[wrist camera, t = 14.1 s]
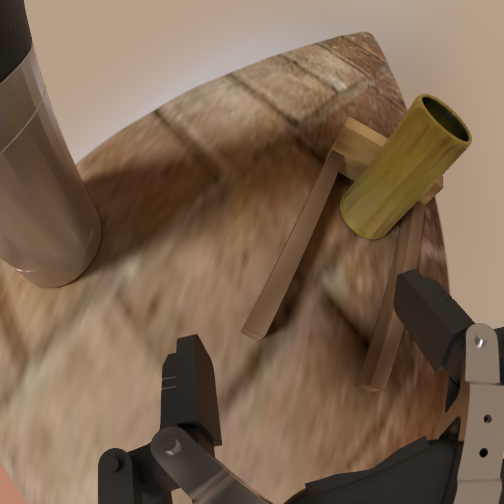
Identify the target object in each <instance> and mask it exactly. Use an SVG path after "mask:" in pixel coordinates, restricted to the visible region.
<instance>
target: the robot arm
mask: <svg viewBox="0 0 504 504" xmlns="http://www.w3.org/2000/svg"><path fill="white" fill-rule="evenodd" d="M100 239H101V222H100V218H99V215H98V213H97V211H96V209H95V207H94V205H93V203H92V201H91V199H90V197H89V195H88V192H87V190H86V188H85V186H84V183H83V181H82V179H81V177H80V175H79V173H78V170H77V168H76V166H75V164H74V161H73V159H72V157H71V154H70V152H69V149H68V147H67V145H66V142H65V140H64V137H63V135H62V132H61V130H60V127H59V124H58V122H57V119H56V116H55V114H54V111H53V108H52V105H51V102H50V99H49V96H48V93H47V90H46V87H45V84H44V82H43V78H42V75H41V71H40V68H39V64H38V61H37V57H36V53H35V49H34V45H33V43H32V37H31V33H30V29H29V25H28V20H27V16H26V11H25V6H24V0H0V258H1V259H3V260H4V261H5V262H6V263H8V264H9V265H10V266H11V267H12V268H14V269H15V270H16V271H17V272H19V273H20V274H21V275H23V276H24V277H25V278H27V279H28V280H29V281H31V282H32V283H34V284H36V285H38V286H40V287H45V288H57V287H60V286H63V285H66V284H68V283H70V282H71V281H73V280H75V279H76V278H77V277H79V276H80V275H81V274H82V273H83V272H84V271H85V270H86V269H87V267H88V266H89V265H90V264H91V262H92V260H93V258H94V257H95V255H96V253H97V250H98V247H99V245H100ZM393 305H394V310H395V313H396V315H397V316H398V318H399V319H400V321H401V322H402V323H403V325H404V326H405V328H406V329H407V331H408V332H409V333H410V335H411V336H412V338H413V339H414V341H415V342H416V343H417V345H418V346H419V348H420V349H421V351H422V352H423V354H424V355H425V357H426V358H427V360H428V361H429V363H430V364H431V366H432V367H433V369H434V370H435V372H436V373H437V372H439V371H441V370H443V369H444V368H445V369H446V371H447V375H446V381H445V390H444V398H443V405H442V411H441V416H440V420H439V422H438V424H437V427H436V430H435V433H434V437H433V440H428V441H427V439H426V437H425V436H423V437H422V438H420V439H418V440H416V441H414V442H412V443H410V444H408V445H406V446H404V447H402V448H400V449H398V450H397V451H396V452H394V453H393V454H392V455H390V456H389V457H388V458H386V459H385V460H384V461H382V462H381V463H380V464H378V465H377V466H375V467H374V468H372V469H370V470H364V471H358V472H350V473H342V474H336V475H333V476H329V477H326V478H323V479H320V480H316V481H313V482H309V483H306V484H305V486H306V488H305V489H303V490H301V491H299V492H298V493H296V494H295V495H293V496H292V497H291V498H289V499H288V500H287V501H286V502H285V503H284V504H504V459H503V452H504V327H501V328H497V329H492V328H491V327H490V326H488V325H486V324H482V323H478V324H475V323H474V322H473V321H472V319H471V318H470V317H469V316H468V315H467V314H466V313H465V311H464V310H463V309H462V308H461V307H460V306H459V305H458V304H457V302H456V301H455V300H454V299H452V297H451V296H450V295H449V294H448V293H446V290H445V289H444V288H443V287H442V286H441V285H440V284H439V283H438V282H436V281H434V280H432V279H430V278H429V277H426V278H424V277H423V276H422V275H421V274H420V273H419V272H418V271H417V270H416V269H412V270H409V271H406V272H404V273H401V274H398V275H397V277H396V285H395V294H394V302H393ZM162 379H163V380H162V390H161V424H160V430H159V431H158V432H157V433H156V434H155V436H154V437H153V439H152V441H151V442H150V443H149V444H147V445H145V446H143V447H140V448H137V449H135V450H132V451H130V452H125V451H124V450H122V449H119V448H112V449H109V450H107V451H106V452H104V453H103V454H102V456H101V457H100V460H99V463H98V504H173V503H172V495H171V491H173V490H175V489H178V488H182V489H183V491H184V492H185V493H186V494H187V495H188V496H189V497H190V498H191V499H192V501H193V502H192V503H193V504H273V503H272V502H270V501H269V500H267V499H266V498H265V497H263V496H262V495H261V494H259V493H258V492H256V491H255V490H254V489H252V488H251V487H250V486H248V485H247V484H246V483H245V482H243V481H242V480H241V479H240V478H238V477H237V476H236V475H235V474H234V473H232V472H231V471H230V470H229V469H228V468H226V467H225V466H224V465H223V464H222V463H221V462H220V461H218V460H217V459H216V458H215V453H214V446H220V445H222V439H221V431H220V422H219V414H218V405H217V395H216V385H215V375H214V368H213V364H212V361H211V359H210V357H209V355H208V353H207V351H206V349H205V347H204V345H203V344H202V342H201V340H200V338H199V336H198V335H197V334H195V335H191V336H187V337H182V338H178V339H177V350H176V353H173V354H169V355H168V356H167V358H166V360H165V362H164V364H163V369H162Z"/></svg>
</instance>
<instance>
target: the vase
mask: <svg viewBox="0 0 504 504" xmlns="http://www.w3.org/2000/svg"><path fill="white" fill-rule="evenodd" d="M471 142H472V137H471V134H470V132H469V130H468V128H467V127H466V125H465V124H464V122H463V121H462V120H461V118H460V117H459V116H458V115H457V114H456V113H455V112H454V111H453V110H452V109H451V108H450V107H448V106H447V105H446V104H445V103H443V102H441V101H440V100H439V99H437V98H436V97H433V96H431V95H429V94H420V95H419V96H418V97H417V98H416V99H415V101H414V102H413V104H412V105H411V107H410V108H409V110H408V111H407V113H406V114H405V116H404V117H403V119H402V120H401V122H400V123H399V125H398V126H397V127H396V129H395V130H394V132H393V133H392V134H391V136H390V137H389V139H388V140H387V141H386V143H385V144H384V146H383V147H382V149H381V150H380V152H379V153H378V155H377V157H376V158H375V159H374V161H373V162H372V163H371V164H370V165H369V166H368V167H367V168H366V170H365V171H364V172H363V173H362V174H361V175H360V176H359V177H358V178H357V180H356V181H355V182H354V183H353V184H352V185H351V186H350V188H349V189H348V190H347V191H346V192H345V193H344V194H343V195H342V197H341V200H340V210H341V213H342V216H343V219H344V220H345V222H346V224H347V225H348V226H349V227H350V228H351V229H352V230H353V231H354V232H355V233H356V234H358V235H360V236H361V237H364V238H367V239H372V240H375V239H380V238H383V237H384V236H385V235H386V234H387V233H388V231H389V230H390V229H391V228H392V227H393V226H394V225H395V224H396V223H397V222H398V221H399V220H400V219H401V218H402V217H403V216H404V215H405V214H406V213H407V212H408V210H409V209H411V208H412V207H413V206H414V204H415V203H416V202H417V201H418V200H419V199H420V198H421V197H422V196H423V195H424V194H425V193H426V192H427V191H428V190H429V189H430V188H431V187H432V186H433V185H434V183H435V182H436V181H437V180H438V179H439V178H440V177H441V176H442V175H443V174H444V173H445V171H446V170H447V169H448V168H449V167H450V166H451V165H452V164H453V163H454V162H455V161H456V160H457V159H458V158H459V156H461V154H462V153H463V152H464V151H465V150H466V149H467V148H468V146H469V145H470V144H471Z"/></svg>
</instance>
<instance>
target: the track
mask: <svg viewBox="0 0 504 504" xmlns="http://www.w3.org/2000/svg"><path fill="white" fill-rule="evenodd" d="M387 140H388V139H387V138H386V137H384V136H383V135H381V134H379V133H377V132H376V131H374V130H372V129H371V128H369V127H367V126H365V125H363V124H362V123H360V122H358V121H356V120H354V119H352V118H351V117H349V116H348V118H347V120H346V122H345V124H344V126H343V128H342V130H341V132H340V133H339V135H338V137H337V139H336V141H335V143H334V145H333V147H332V149H331V150H330V152H329V154H328V156H327V158H326V161H325V163H324V165H323V167H322V169H321V171H320V173H319V175H318V178H317V180H316V182H315V184H314V186H313V188H312V190H311V192H310V194H309V196H308V199H307V201H306V203H305V205H304V207H303V209H302V211H301V213H300V215H299V217H298V219H297V221H296V223H295V225H294V227H293V229H292V232H291V234H290V236H289V238H288V240H287V242H286V244H285V246H284V248H283V250H282V252H281V254H280V256H279V258H278V260H277V262H276V264H275V266H274V268H273V270H272V272H271V274H270V276H269V278H268V280H267V282H266V284H265V286H264V288H263V290H262V292H261V293H260V295H259V297H258V299H257V301H256V303H255V305H254V307H253V309H252V311H251V313H250V315H249V317H248V319H247V321H246V323H245V325H244V326H243V328H242V330H241V333H243V334H245V335H247V336H249V337H250V338H252V339H254V340H256V341H259V340H260V339H262V338H263V337H265V335H266V333H267V331H268V329H269V327H270V325H271V323H272V320H273V318H274V316H275V314H276V312H277V310H278V308H279V306H280V304H281V302H282V300H283V297H284V295H285V293H286V291H287V289H288V287H289V285H290V282H291V280H292V278H293V276H294V274H295V272H296V269H297V267H298V265H299V263H300V260H301V258H302V256H303V254H304V252H305V249H306V247H307V245H308V242H309V240H310V238H311V236H312V233H313V231H314V229H315V226H316V224H317V222H318V219H319V217H320V215H321V212H322V210H323V208H324V205H325V203H326V201H327V198H328V196H329V193H330V191H331V188H332V186H333V184H334V181H335V179H336V176H337V174H338V172H339V173H341V174H342V175H344V176H346V177H348V178H350V179H351V180H353V181H356V180H357V178H358V177H359V176H360V175H361V174H362V173H363V172H364V171H365V170H366V168H367V167H368V166H369V165H370V164H371V163H372V162H373V161H374V159H375V158H376V157H377V155H378V153H379V152H380V150H381V149H382V147H383V146H384V144H385V143H386V141H387ZM442 188H443V176H441V177H440V178H439V179H438V180H437V181H436V182H435V183H434V185H433V186H432V187H431V188H430V189H429V190H428V191H427V192H426V193H425V194H424V195H423V196H422V197H421V198H420V199H419V200H418V201H417V202H416V203H415V204H414V206H413V207H412V208H411V209H409V210H408V212H407V213H406V214H405V215H404V216H403V217H402V218H401V223H400V228H399V234H398V239H397V244H396V249H395V253H394V258H393V262H392V267H391V271H390V275H389V279H388V283H387V287H386V291H385V295H384V298H383V302H382V306H381V309H380V313H379V316H378V319H377V323H376V326H375V329H374V332H373V336H372V339H371V342H370V345H369V348H368V351H367V354H366V356H365V359H364V362H363V365H362V368H361V370H360V373H359V376H358V378H357V381H356V383H355V386H357V387H360V388H362V389H365V390H367V391H385V389H386V386H387V383H388V380H389V377H390V374H391V371H392V368H393V365H394V362H395V358H396V355H397V352H398V348H399V345H400V341H401V337H402V334H403V330H404V325H403V323H402V322H401V321H400V319H399V318H398V316H397V315H396V313H395V310H394V305H393V302H394V294H395V285H396V277H397V275H398V274H401V273H404V272H406V271H409V270H412V269H416V270H417V264H418V258H419V251H420V244H421V236H422V228H423V219H424V208H425V205H426V204H427V203H428V202H429V201H430V200H431V199H432V198H433V197H434V196H435V195H436V194H437V193H438V192H439V191H440V190H441V189H442Z"/></svg>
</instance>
